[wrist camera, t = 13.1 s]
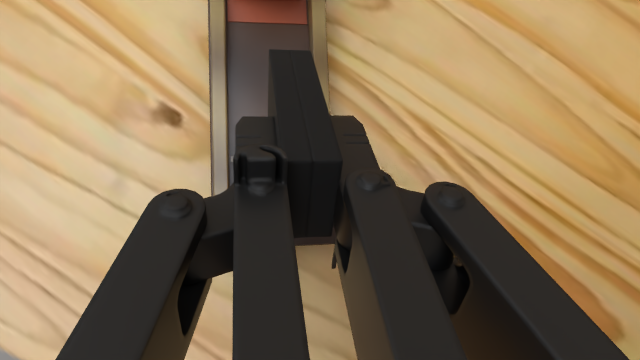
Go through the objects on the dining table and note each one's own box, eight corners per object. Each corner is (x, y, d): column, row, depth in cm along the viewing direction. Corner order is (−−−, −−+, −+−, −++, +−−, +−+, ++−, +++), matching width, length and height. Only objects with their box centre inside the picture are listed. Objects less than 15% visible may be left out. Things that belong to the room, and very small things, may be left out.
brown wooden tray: (208, -92, 28) (202, -137, 24) (315, -84, 29) (325, -125, 25) (214, 248, 26) (209, 252, 22) (329, 242, 27) (341, 245, 24)
